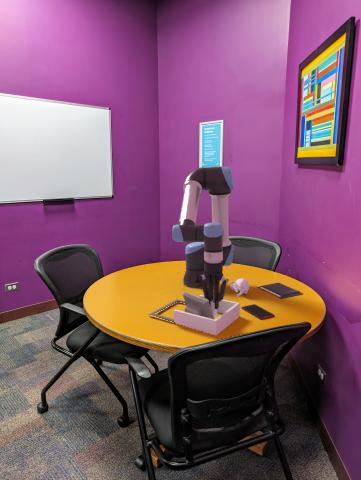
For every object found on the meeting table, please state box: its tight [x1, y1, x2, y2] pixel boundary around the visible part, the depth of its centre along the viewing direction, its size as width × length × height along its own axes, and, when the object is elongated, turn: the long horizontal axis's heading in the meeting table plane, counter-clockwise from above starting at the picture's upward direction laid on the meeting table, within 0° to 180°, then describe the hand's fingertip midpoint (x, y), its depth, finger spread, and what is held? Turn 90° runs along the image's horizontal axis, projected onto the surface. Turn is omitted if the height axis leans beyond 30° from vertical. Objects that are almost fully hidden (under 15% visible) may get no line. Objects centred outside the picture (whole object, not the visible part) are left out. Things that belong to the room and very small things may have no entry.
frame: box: [148, 298, 186, 322], centre depth 156 cm, size 13×21×1 cm, turn 145°
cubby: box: [173, 294, 241, 336], centre depth 146 cm, size 20×21×6 cm
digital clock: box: [182, 291, 215, 320], centre depth 147 cm, size 16×9×11 cm, turn 26°
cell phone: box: [241, 304, 276, 321], centre depth 152 cm, size 8×15×1 cm, turn 25°
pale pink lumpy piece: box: [230, 277, 251, 297], centre depth 176 cm, size 6×8×12 cm
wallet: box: [256, 282, 304, 300], centre depth 178 cm, size 20×2×15 cm
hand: (213, 315), depth 144 cm, fingers closed
